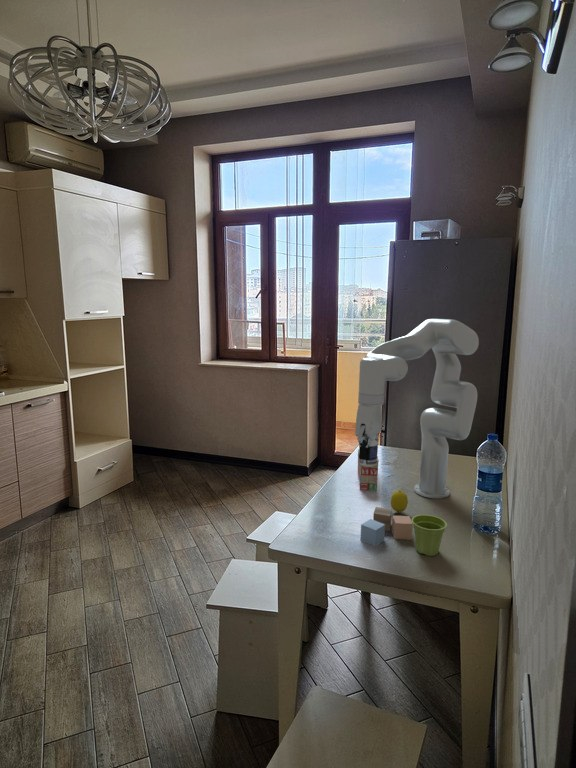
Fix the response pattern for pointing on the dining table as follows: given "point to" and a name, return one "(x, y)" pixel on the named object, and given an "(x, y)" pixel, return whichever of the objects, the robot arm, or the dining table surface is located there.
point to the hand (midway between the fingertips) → (368, 456)
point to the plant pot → (428, 533)
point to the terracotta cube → (402, 527)
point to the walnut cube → (383, 516)
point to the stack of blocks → (367, 476)
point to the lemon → (399, 501)
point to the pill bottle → (371, 453)
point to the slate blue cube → (372, 532)
